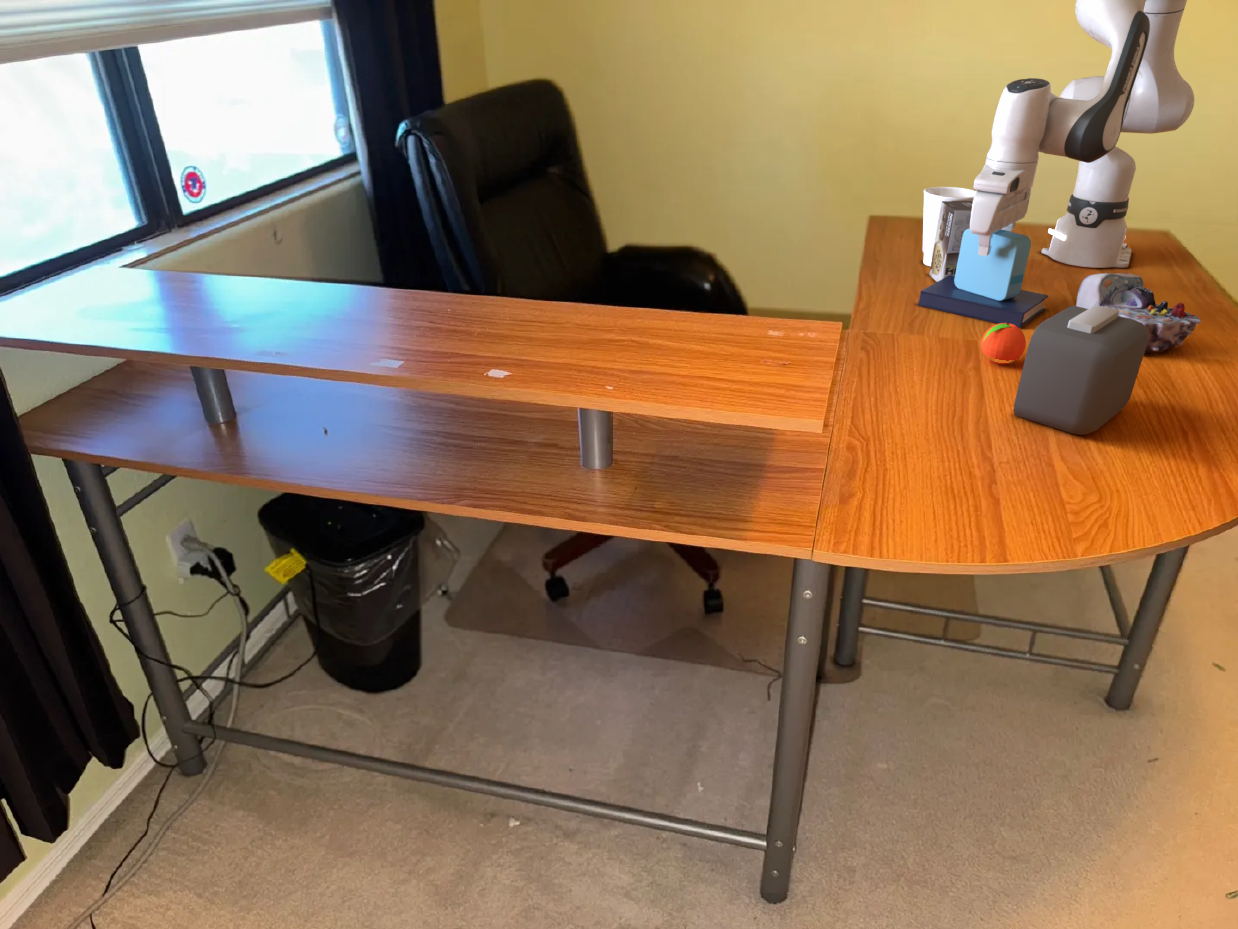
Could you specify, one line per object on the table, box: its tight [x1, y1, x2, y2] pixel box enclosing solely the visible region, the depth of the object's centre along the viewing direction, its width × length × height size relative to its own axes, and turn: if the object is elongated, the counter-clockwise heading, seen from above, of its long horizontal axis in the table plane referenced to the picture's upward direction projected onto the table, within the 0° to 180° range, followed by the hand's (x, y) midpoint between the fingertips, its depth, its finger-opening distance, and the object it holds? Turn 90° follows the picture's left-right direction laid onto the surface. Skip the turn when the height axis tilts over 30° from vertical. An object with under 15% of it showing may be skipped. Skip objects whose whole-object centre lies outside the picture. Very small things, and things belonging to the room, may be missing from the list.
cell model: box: [1075, 272, 1202, 354], centre depth 157 cm, size 13×11×20 cm
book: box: [917, 275, 1049, 329], centre depth 174 cm, size 14×20×3 cm
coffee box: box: [929, 201, 973, 283], centre depth 186 cm, size 9×6×16 cm
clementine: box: [980, 323, 1027, 366], centre depth 147 cm, size 8×7×7 cm
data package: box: [954, 228, 1032, 301], centre depth 170 cm, size 12×4×12 cm, turn 34°
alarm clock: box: [1013, 305, 1148, 436], centre depth 128 cm, size 16×11×16 cm
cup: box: [922, 186, 978, 267], centre depth 197 cm, size 12×12×16 cm
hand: (993, 249), depth 169 cm, fingers open, 8 cm apart
